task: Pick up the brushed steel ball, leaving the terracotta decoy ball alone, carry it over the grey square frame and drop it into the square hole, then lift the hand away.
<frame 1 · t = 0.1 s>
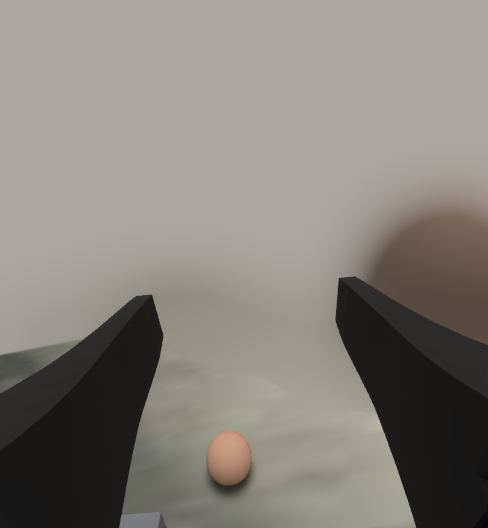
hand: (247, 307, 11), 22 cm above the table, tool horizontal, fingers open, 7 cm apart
decoy ball: (229, 456, 26), point 2 cm above the table
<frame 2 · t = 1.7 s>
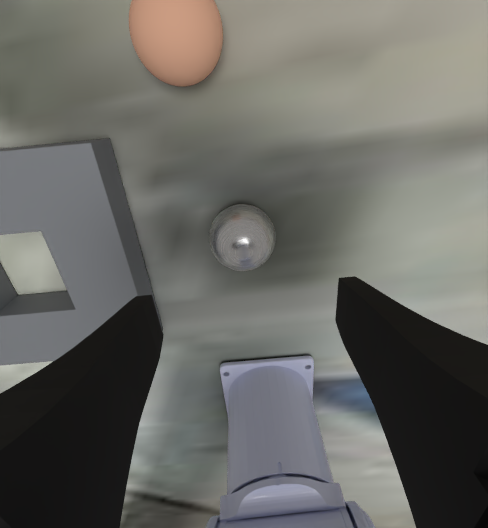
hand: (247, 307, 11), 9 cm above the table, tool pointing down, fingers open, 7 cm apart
grey square frame: (39, 258, 20), on the table
decoy ball: (177, 33, 13), point 2 cm above the table
steel ball: (242, 237, 18), point 2 cm above the table
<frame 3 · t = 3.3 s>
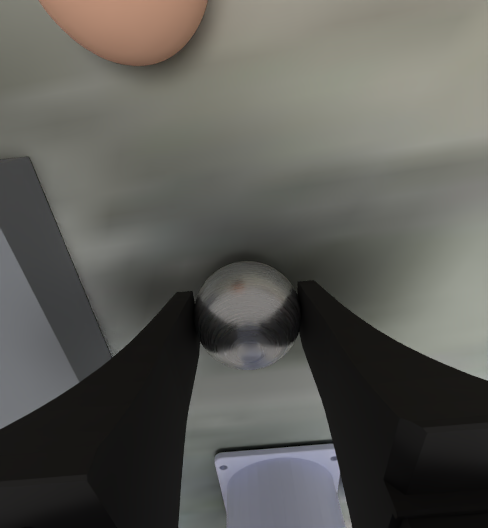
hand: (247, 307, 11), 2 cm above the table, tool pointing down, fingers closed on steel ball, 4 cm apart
steel ball: (247, 313, 11), point 2 cm above the table, touching gripper
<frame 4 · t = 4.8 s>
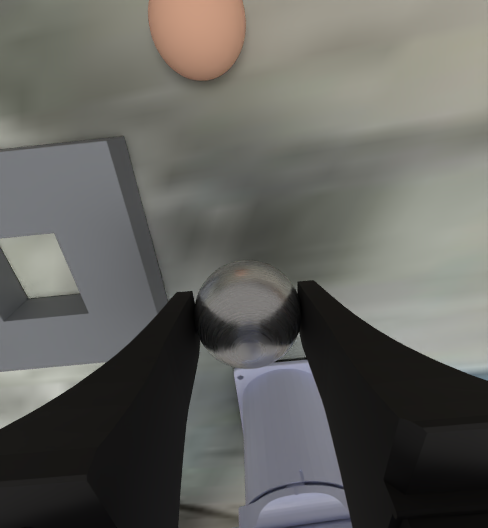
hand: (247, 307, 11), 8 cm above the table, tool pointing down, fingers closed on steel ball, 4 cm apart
grey square frame: (50, 261, 19), on the table
decoy ball: (198, 24, 12), point 2 cm above the table
steel ball: (247, 312, 11), point 9 cm above the table, touching gripper
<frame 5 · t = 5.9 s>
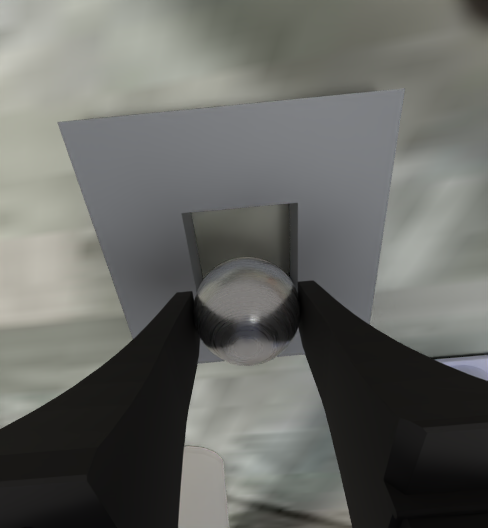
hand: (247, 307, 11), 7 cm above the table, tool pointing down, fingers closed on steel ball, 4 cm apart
grey square frame: (243, 240, 17), on the table
steel ball: (246, 309, 11), point 7 cm above the table, touching gripper
foam cup: (191, 463, 28), on the table
when the fingers open (6 cm above the table, at t = 6.4 s): steel ball drops 4 cm, point 2 cm above the table.
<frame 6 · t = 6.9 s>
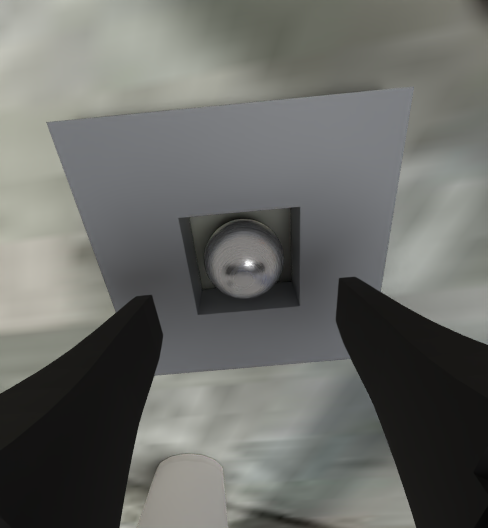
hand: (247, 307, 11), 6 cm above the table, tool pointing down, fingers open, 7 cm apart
grey square frame: (242, 244, 17), on the table
steel ball: (244, 258, 15), point 2 cm above the table
foam cup: (190, 470, 28), on the table
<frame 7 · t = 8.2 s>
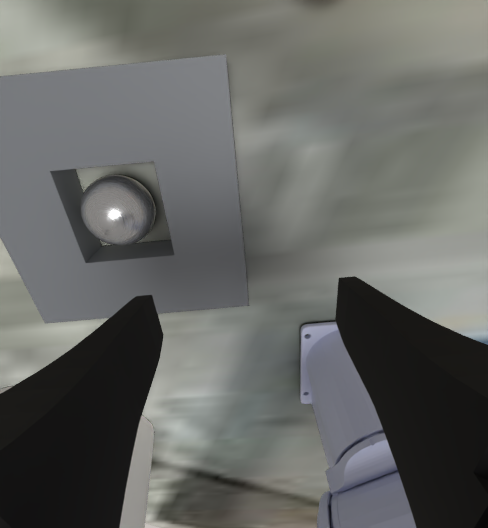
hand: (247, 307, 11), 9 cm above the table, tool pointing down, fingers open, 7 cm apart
grey square frame: (130, 203, 19), on the table
steel ball: (119, 210, 17), point 2 cm above the table
foam cup: (123, 427, 30), on the table
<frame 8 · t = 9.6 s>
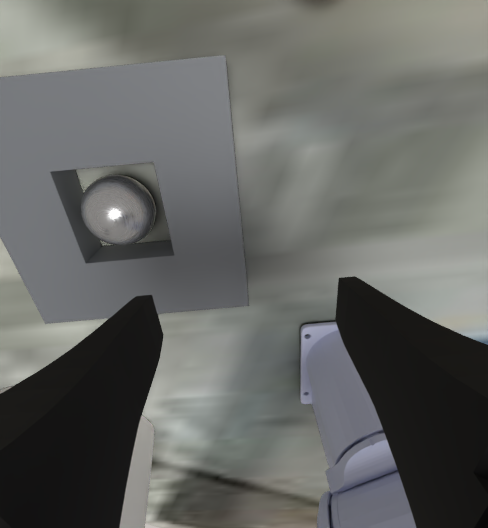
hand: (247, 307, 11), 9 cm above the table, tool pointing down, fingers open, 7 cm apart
grey square frame: (130, 204, 19), on the table
steel ball: (120, 210, 17), point 2 cm above the table
foam cup: (123, 428, 30), on the table
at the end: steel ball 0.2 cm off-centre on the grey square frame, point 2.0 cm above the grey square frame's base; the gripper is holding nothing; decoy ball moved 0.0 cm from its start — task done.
